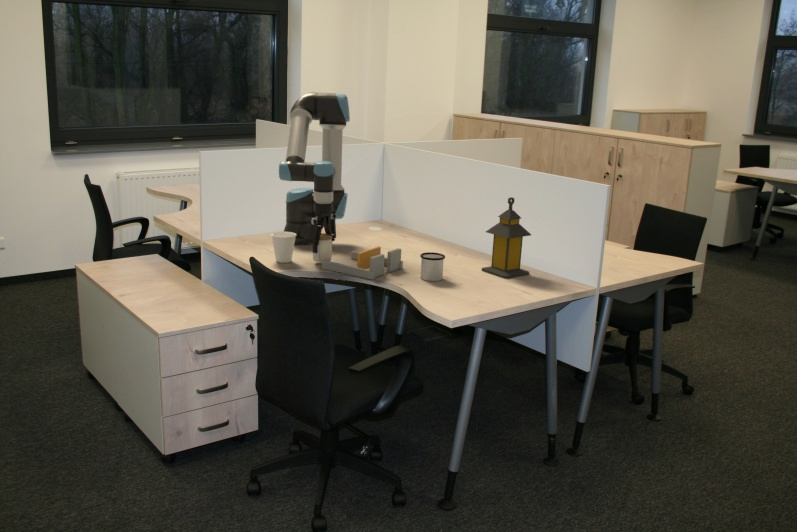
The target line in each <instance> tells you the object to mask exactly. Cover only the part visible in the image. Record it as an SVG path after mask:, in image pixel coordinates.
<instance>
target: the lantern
mask: <svg viewBox="0 0 797 532" xmlns="http://www.w3.org/2000/svg"><path fill="white" fill-rule="evenodd" d="M507 203H508V209H506V210H505V211H503V212H502V213H500V215H498V216H497V218H499V222H498V223H496V224H494V225H493V226H492V227H490V228H489V229H487V230H486V231H485V233H487V234H492V235H493V238H492V239H493V241H492V253H491V255H492V256H491V266H486V267H485V266H484V267H481V271H482V272H484V273H487V274H490V275H493V276H495V277H498V278H501V279H506V280H509V279H512V278H513V279H514V278H519V277H523V276H528V275H530V271H529V270H526V269H522V268H521V261H522V250H523V249H522V248H523V238H524V237H529V236H532V234H531V233H530V232H529V231H528V230H527V229H525V227H523V225H522V224H520V220H521V219H522V217H521V216H520V215H519V214H518V213H517V212H516V211H515V210H513V206H514V204H515V198H514V197H508V198H507Z"/></svg>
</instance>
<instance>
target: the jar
mask: <svg viewBox="0 0 797 532" xmlns="http://www.w3.org/2000/svg"><path fill="white" fill-rule="evenodd" d="M332 235H333V234H332ZM332 235H330V234H326V233H325V232H324V233H323V232H321V236H320V240H319V244H318V245H320V261H315V260H313V261H314V262H317V263H322V261H323V260H326V261H330V262H332V257H331V249H332V250H333V241H332Z"/></svg>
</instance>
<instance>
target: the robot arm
mask: <svg viewBox="0 0 797 532" xmlns="http://www.w3.org/2000/svg"><path fill="white" fill-rule="evenodd" d="M349 106H350V105H349V100H348V96H347V95H346V94H344V93H339V92H338V93H337V92H335V93H334V92H315V91H313V92H308V93H305V94H303V95H301V96H300V97H299V98H297V100H296V101H295V102H294V104H293V105H292V107H291V108H290V112H289V121H290V127H289V136H288V142H287V149H286V156H285V161H280V162H279V164H278V177H279V180H281V181H286V182H309V183H310V182H311V183H313V188H311V187H299V188H293V189H291V190H288V191H287V192H286V196H285V197H286V201H285V204H286V205H285V206H286V207H285V208H286V209H285V210H286V211H285V214H286V215H285V226H284V229H283V232H292V233H295V234H296V238H295V243H294V245H311V246H312V260H313V261H314V260H315V261H314V262H316V261H320V245H318V244H319V240H320V236H321V233H322V232H323V229H324V233H325V234H330V235H332V242H335V240H336V238H337V227H336V220H341V219H343V218H344V217H345V213H346V210H347V209H346V208H347V204H348V203H347V201H348V196H349V195H348V192H345V191H346V190H345V187H343V185H342V165H343V164H342V163H343V162H342V160H343V132H344V131H343V130H344V129H345V128H346V127H347V123H348V122H350V120H351V118H350V107H349ZM313 121H319V124H318V125H319V126H320V128H322V141H321V142H322V144H321V145H322V149H321V151H322V153H321V160H319V161H316V162H305V161H306V154H307V146H308V145H307V144H308V137H309V129H310V125H311V123H312V122H313ZM332 257H333V248H332V249H331V258H332Z"/></svg>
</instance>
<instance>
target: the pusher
mask: <svg viewBox="0 0 797 532" xmlns="http://www.w3.org/2000/svg"><path fill="white" fill-rule="evenodd" d="M381 249H382V247H381V246H376V247H373V248H370V249H369V248H368V249H367V250H363V251H359V252H360V253H358V255H357V260H356V261H357V264H356V267H358V268H363V269H367V270H369V268H370V257H373V256H376V255H379V254H382V253H381V251H382V250H381ZM384 263H385V264H388V261H384Z"/></svg>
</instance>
